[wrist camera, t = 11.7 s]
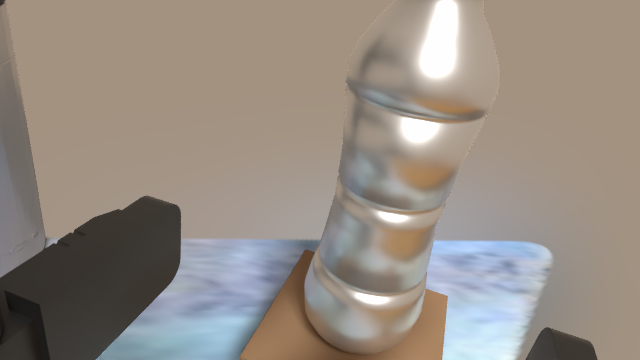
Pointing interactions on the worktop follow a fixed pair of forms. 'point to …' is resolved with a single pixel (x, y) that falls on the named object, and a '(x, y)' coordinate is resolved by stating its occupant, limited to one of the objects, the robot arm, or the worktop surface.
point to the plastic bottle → (398, 166)
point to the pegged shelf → (318, 355)
